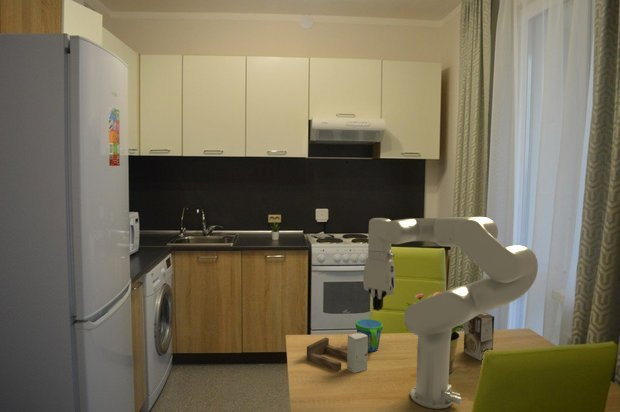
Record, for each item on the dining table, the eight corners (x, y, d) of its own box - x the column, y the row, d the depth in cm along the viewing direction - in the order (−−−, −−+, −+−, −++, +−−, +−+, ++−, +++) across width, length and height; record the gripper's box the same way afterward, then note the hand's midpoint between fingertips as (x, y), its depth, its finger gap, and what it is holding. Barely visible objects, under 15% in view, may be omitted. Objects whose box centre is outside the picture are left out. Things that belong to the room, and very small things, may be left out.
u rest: (356, 360, 157) (356, 347, 157) (338, 371, 148) (338, 357, 148) (325, 349, 166) (325, 337, 165) (306, 359, 157) (306, 346, 156)
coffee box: (493, 358, 161) (495, 316, 159) (479, 361, 158) (481, 318, 157) (475, 349, 169) (477, 309, 168) (462, 351, 167) (464, 310, 165)
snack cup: (352, 340, 176) (353, 316, 175) (378, 340, 176) (378, 316, 175) (357, 356, 160) (358, 330, 159) (385, 357, 160) (386, 330, 160)
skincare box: (354, 373, 147) (355, 339, 146) (346, 368, 150) (346, 335, 149) (368, 369, 150) (368, 335, 149) (359, 364, 154) (360, 331, 153)
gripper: (405, 256, 141) (403, 311, 142) (365, 250, 150) (364, 302, 151) (394, 260, 135) (392, 317, 136) (354, 253, 144) (352, 307, 145)
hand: (377, 309), depth 144 cm, fingers closed
